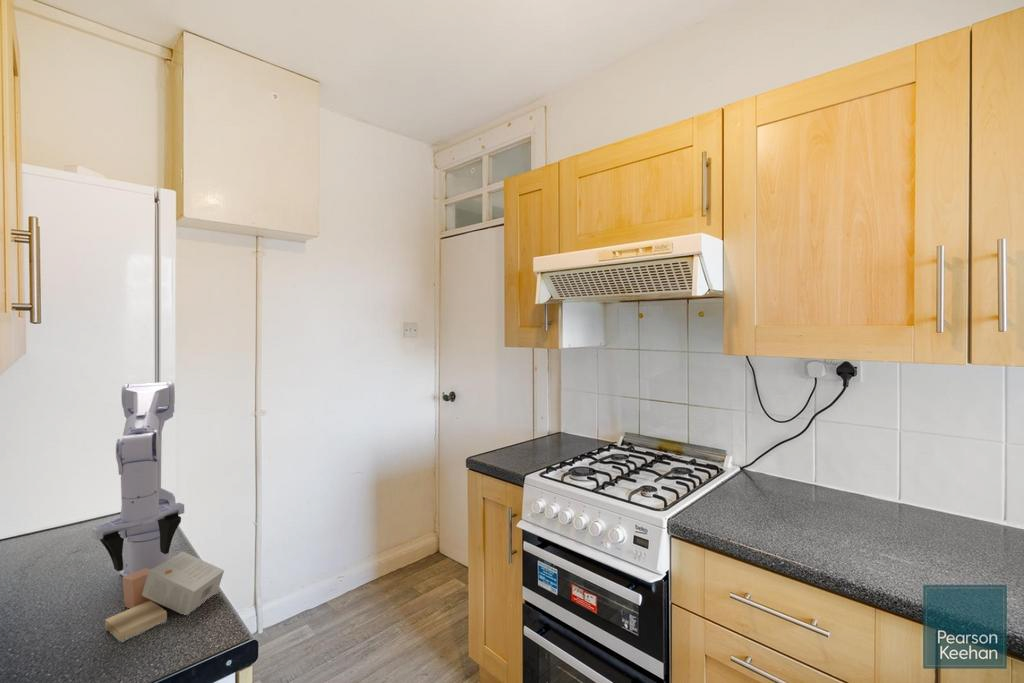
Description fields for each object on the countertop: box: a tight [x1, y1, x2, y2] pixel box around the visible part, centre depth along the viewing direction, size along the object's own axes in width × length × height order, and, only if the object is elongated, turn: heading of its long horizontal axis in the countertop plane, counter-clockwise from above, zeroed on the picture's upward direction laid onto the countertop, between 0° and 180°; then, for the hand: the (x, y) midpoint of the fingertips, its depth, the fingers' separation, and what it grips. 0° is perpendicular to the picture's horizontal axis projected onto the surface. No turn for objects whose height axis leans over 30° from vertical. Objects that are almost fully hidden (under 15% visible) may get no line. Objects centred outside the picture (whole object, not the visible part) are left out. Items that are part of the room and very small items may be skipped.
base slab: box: [104, 600, 168, 641], centre depth 86 cm, size 7×7×2 cm
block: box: [121, 568, 156, 609], centre depth 93 cm, size 4×4×6 cm
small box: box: [142, 550, 225, 615], centre depth 93 cm, size 8×6×10 cm
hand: (142, 560), depth 92 cm, fingers open, 7 cm apart
